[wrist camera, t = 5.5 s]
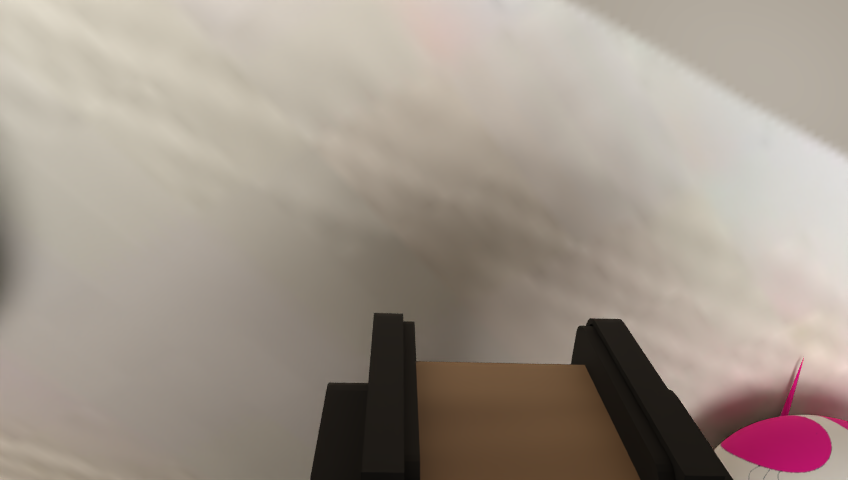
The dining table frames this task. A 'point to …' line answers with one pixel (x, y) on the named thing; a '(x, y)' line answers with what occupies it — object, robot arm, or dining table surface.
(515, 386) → the shaft
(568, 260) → the dining table surface
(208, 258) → the dining table surface
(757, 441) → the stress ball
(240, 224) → the dining table surface
